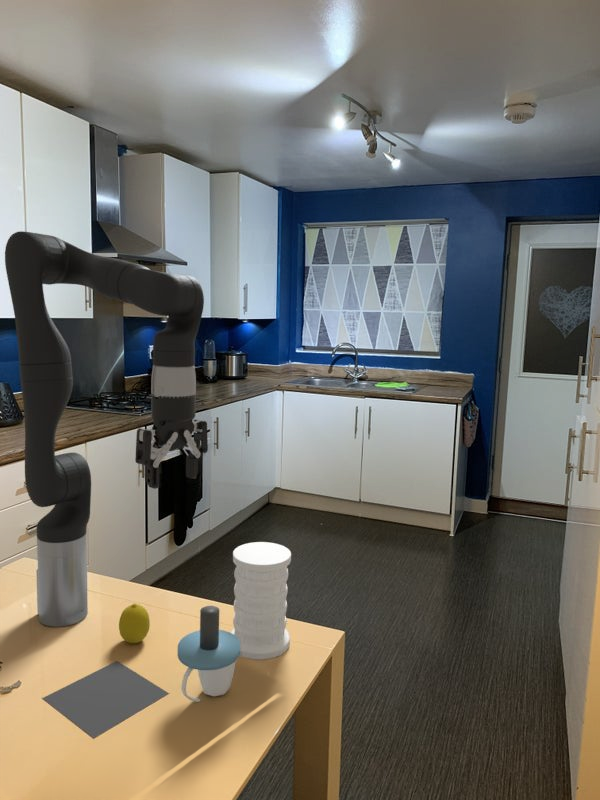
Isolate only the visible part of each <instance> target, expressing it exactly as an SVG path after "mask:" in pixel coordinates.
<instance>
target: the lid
mask: <svg viewBox="0 0 600 800" xmlns="http://www.w3.org/2000/svg"><path fill="white" fill-rule="evenodd" d="M199 612H200V613H199V614H200V617H199V618H200V620H199V630H195V631H192V632H189V633H187V634H186V635H185V636H183V637H182V638H181V639H180V640H179V642H178V643H177V658H178V661H180V663H181V664H183V666H185V667H187V668H188V667H190V668H193V670H197V671H198V670H216V669H221V668H224V667H227V666H229V665H231V664H232V663H234V662H235V661H238V659H239V657H241V656H240V641H239V639H238V638H237V637H236V636H235V635H233V634H232V633H231V632H230V631H226V630H222V629H220V608H219V607H217V606H215V605H206V606H203V607H202V608H201V609H200V610H199Z"/></svg>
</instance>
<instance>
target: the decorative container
mask: <svg viewBox="0 0 600 800" xmlns="http://www.w3.org/2000/svg"><path fill="white" fill-rule="evenodd" d="M232 562H233V563H234V565H235V569H234V572H233V575H234V579H235V584H234V587H233V593H234V601H233V610H234V616H233V618H232V624H233V629H232V630H230V633H232V634H233V635H235V636H236V637H237V638H238V639H239V641H240V656H239V657H241V658H246V659H247V660H248V659H249V660H255V661H256V660H257V661H259V660H260V661H261V660H269V659H274V658H278V657H279V656H281V655H282V654H283V655H284V653H286V651H288V649H289V648H290V643H291V642H290V641H291V635H290V633H289V632H288V630H287V629H286V627H287V624H288V623H287V622H288V621H287V617H286V613H287V611H288V602H287V595H288V590H289V589H288V584H287V581H288V579H289V568H288V566H289V565H290V564H291V562H292V552H291V550H290V549H289V548H288V547H286V546H284V545H283V544H279V543H275V542H267V541H256V542H248V543H244V544H241V545H238V546H237V547H236V548H234V550H233V551H232Z"/></svg>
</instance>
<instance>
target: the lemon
mask: <svg viewBox="0 0 600 800" xmlns="http://www.w3.org/2000/svg"><path fill="white" fill-rule="evenodd" d="M150 624H151V623H150V615H149V613H148V611H147V609H146V608H145V607H144V606H143V605H141V604H137V603H132V604H131V605H129V606H127V607H125V608H124V609H123V610H122V613H121V614H120V617H119V621H118V630H119V635H120V637H121V638H122V639H123V640H124V641H125V642H127V643H130V644H137V643H140V642H141V641H143V640H144V639H146V637H147V635H148V634H149V631H150V626H151V625H150Z"/></svg>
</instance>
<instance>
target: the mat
mask: <svg viewBox="0 0 600 800" xmlns="http://www.w3.org/2000/svg"><path fill="white" fill-rule="evenodd" d="M169 694H170V692H169V691H166V690H164V689H163V688H161V686H158V685H157V684H155V683H153V682H152V681H150V680H149V679H147V678H145V677H144V676H142V675H141V674H139V673H137V672H136V671H134V670H132V669H131V668H129V667H128V666H126V665H125V664H123V663H121V662H120V661H118V660H116V661H114V662H112V663H109V664H108V665H105V666H104V667H101V668H100V669H97V670H95V671H94V672H92V673H89V674H88V675H86V676H84V677H82V678H80V679H78V680H75V681H74V682H72V683H69V684H68V685H66V686H63V687H62V688H59V689H57V690H56V691H53V692H52V693H50V694H48V695H46V696H43V697H42V698H41V699H42V700H43V701H45V702H46V703H47V704H48V705H50V706H51V707H52V708H54V709H55V710H56V711H58V712H59V714H61V715H63V716H64V717H65V718H67V719H68V720H69V721H70V722H71V723H73V724H74V725H76V726H77V727H78V728H79V729H81V731H83V732H84V733H86V734H87V735H88V736H90V737H91V738H92V739H96V738H98V737H99V736H100V735H102V734H104V733H105V732H107V731H109V730H111V729H112V728H114V727H116V726H118V725H119V724H120V723H122V722H124V721H127V719H129V718H130V717H133V716H134V715H136V714H137V713H139V712H141V711H142V710H144V709H146V708H147V707H149V706H150V705H153V704H154V703H156V702H158V701H159V700H161V699H163V698H164V697H166V696H168V695H169Z"/></svg>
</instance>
